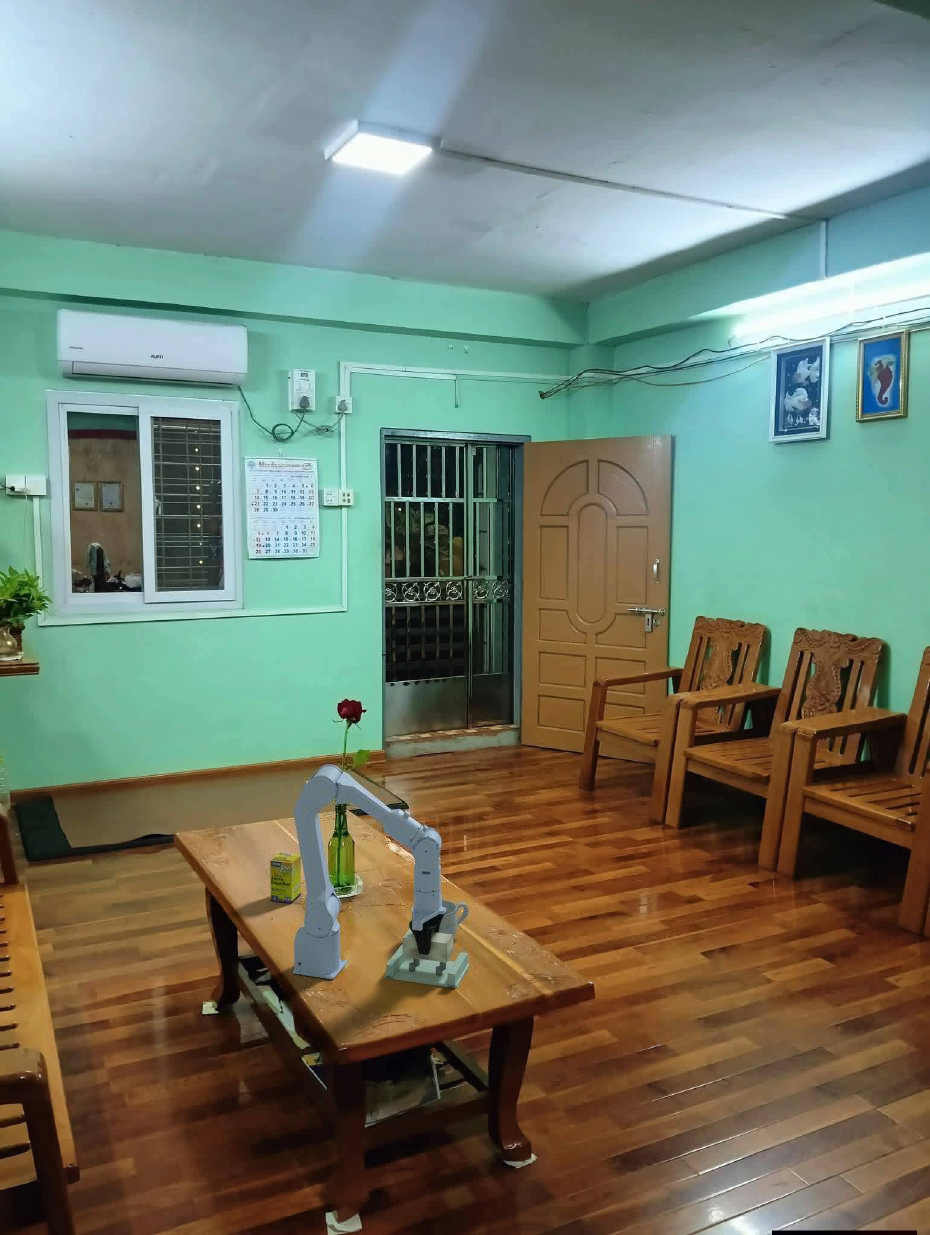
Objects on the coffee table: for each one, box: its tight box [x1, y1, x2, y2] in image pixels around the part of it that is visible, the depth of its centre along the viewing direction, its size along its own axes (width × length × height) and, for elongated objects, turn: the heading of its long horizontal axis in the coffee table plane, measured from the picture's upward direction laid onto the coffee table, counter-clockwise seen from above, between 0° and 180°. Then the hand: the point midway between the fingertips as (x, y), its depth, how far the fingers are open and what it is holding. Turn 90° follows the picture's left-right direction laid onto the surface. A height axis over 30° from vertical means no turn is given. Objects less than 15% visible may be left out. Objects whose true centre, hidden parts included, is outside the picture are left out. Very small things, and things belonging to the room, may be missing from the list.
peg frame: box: [383, 944, 471, 989], centre depth 201 cm, size 16×10×3 cm, turn 74°
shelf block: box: [401, 928, 454, 963], centre depth 200 cm, size 10×4×4 cm, turn 74°
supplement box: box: [269, 852, 302, 905], centre depth 239 cm, size 6×6×11 cm
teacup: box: [410, 899, 470, 938], centre depth 217 cm, size 14×11×8 cm
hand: (427, 948), depth 201 cm, fingers closed on shelf block, 4 cm apart
